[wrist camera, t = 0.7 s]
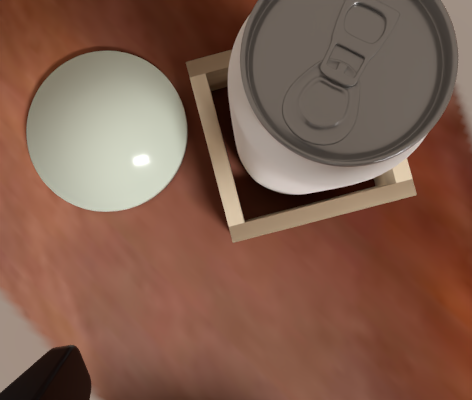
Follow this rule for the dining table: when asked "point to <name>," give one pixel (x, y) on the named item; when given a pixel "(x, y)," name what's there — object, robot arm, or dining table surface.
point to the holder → (386, 190)
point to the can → (337, 88)
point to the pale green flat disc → (107, 131)
